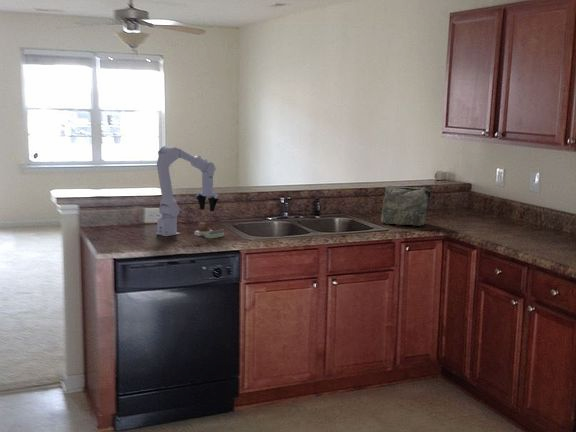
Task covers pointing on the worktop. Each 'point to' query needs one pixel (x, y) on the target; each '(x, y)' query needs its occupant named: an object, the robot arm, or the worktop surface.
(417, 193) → the lunch bag
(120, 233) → the worktop surface
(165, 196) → the robot arm
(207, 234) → the board
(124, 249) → the worktop surface
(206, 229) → the walnut block
